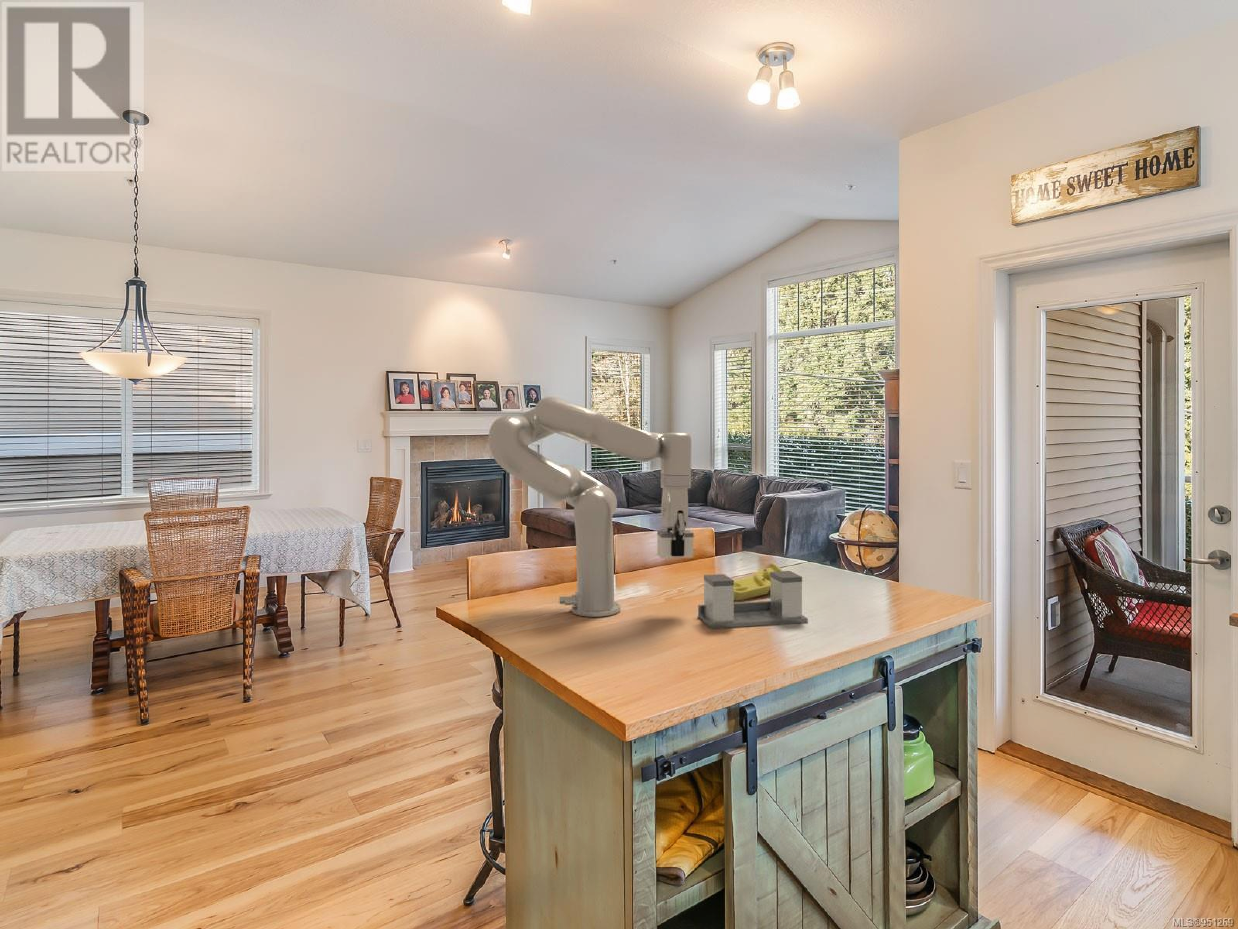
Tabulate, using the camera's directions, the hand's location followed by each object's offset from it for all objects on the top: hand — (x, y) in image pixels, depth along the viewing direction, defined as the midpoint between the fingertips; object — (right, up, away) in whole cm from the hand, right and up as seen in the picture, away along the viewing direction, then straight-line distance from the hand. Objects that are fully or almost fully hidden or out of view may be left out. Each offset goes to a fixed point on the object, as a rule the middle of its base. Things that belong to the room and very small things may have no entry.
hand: (674, 553), depth 166 cm
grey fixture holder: (+18, -15, -7) cm, 25 cm away
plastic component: (+23, -14, +19) cm, 33 cm away
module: (0, -1, 0) cm, 1 cm away
